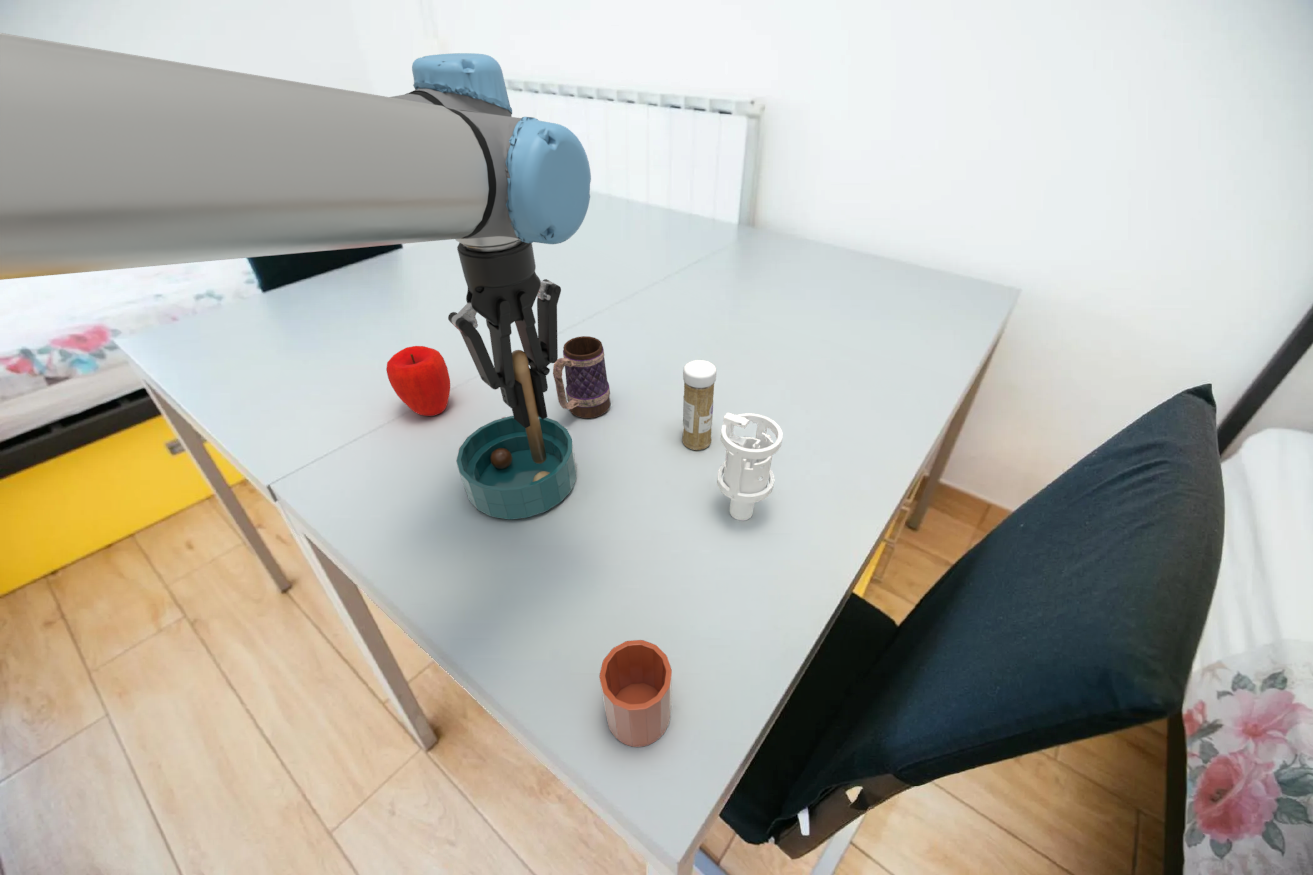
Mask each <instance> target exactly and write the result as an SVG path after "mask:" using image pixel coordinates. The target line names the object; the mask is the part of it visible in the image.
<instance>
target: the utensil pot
mask: <svg viewBox="0 0 1313 875" xmlns="http://www.w3.org/2000/svg"><path fill="white" fill-rule="evenodd" d="M598 677H599V683H600V690H601V695H602V702H603V708H604V713H605V717H606V722H607V727H608V728H609V731H610V733H612V735H613V736H614V738H615V739H616V740H618V741H619V742H620V743H622V744H623V745H626V746H628V747H632V748H641V747H647V746H649V745H652V744H653V743H655V742H657V741H658V740H660V738H662V736H663V735H664V734H665V732H666V731H667V729H668V727H669V724H670V720H671V715H672V714H671V713H672V691H673V690H672V686H673V685H672V684H673V682H672V680H673V679H672V678H673V670H672V667H671V664H670V661H669V658H668V655H667V654H666V653H665V652H664V651H663V650H662V649H661V648H660V647H659V646H658V645H657V644H655V643H652V642H649V641H646V640H643V639H634V640H626V641H623V642H622V643H620V644H618V645H616V646H614V647H613V648H611V649H610V651H609V652H608V654H607V655H606V656H605V657H604V658H603V660H602V663H601V667H600V672H599V676H598Z"/></svg>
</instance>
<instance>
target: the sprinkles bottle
mask: <svg viewBox="0 0 1313 875" xmlns="http://www.w3.org/2000/svg"><path fill="white" fill-rule="evenodd" d="M682 373H683V374H682V380H683V385H684V386H683V387H684V388H683V402H682V427H683V428H682V437H681V441H682V444H683V445H684V447H686V448H687V449H690V450H693V451H701V450H705V449H707V448H708V447H709V446H710V445H711V443H712V426H713V417H714V416H713V415H714V414H713V413H714V394H715V383H716V380H717V366H715V364H713V363H712V362H711V361H708V360H705V359H694V360H690V361H689V362H687V363H686V364H685V365H684V366H683V371H682Z"/></svg>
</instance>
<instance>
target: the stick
mask: <svg viewBox="0 0 1313 875" xmlns="http://www.w3.org/2000/svg"><path fill="white" fill-rule="evenodd" d="M512 360H513V369H514V378H515V380H516V381H518V382H519V383H521V384H522V388H523V393H524V398H525V403H526V407H527V412H528V417H529V422H530V426H529V427H527V428H525V429H526V433H527V438H528V442H529V447H530V451H531V456H532V459H533V461H534V462H535V463H537V464H541V463H543V462H545V460H546V457H547V456H546V451H545V446H544V441H543V435H542V430H541V425H540V420H539V415H538V410H537V405H536V400H535V395H534V390H533V385H532V380H531V375H530V370H529V368H530V366H529V365H528V360H527V355H526V354H525V352H524V350H523V349H515V350H513V351H512Z"/></svg>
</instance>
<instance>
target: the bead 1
mask: <svg viewBox="0 0 1313 875" xmlns="http://www.w3.org/2000/svg"><path fill="white" fill-rule="evenodd" d="M490 460H491V463H492V465H493V466H494V467H496V468H498V469H505V468H507V467H508V466H509V465H510V464H511V462H512V455H511V453H510V452H509V451H508V450H507V449H505V448H498V449H496V450H494V451H493V452H492V454H491V457H490Z"/></svg>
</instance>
